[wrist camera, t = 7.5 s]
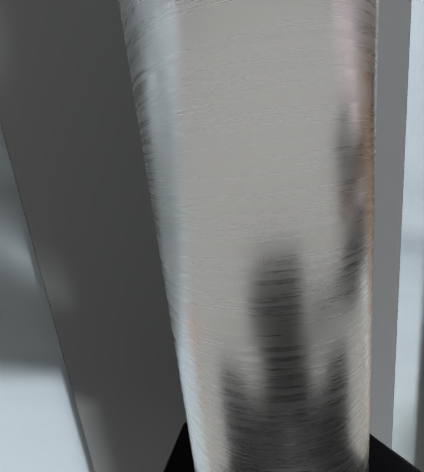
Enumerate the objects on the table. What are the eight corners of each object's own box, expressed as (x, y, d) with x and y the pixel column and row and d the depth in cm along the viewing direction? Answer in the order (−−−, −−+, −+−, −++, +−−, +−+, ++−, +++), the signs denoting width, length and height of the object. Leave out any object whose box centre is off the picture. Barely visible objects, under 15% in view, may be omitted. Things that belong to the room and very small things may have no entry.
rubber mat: (400, -141, 6) (419, -167, 6) (375, 610, 12) (383, 628, 12) (-52, -121, 6) (-73, -147, 5) (153, 663, 12) (152, 685, 11)
